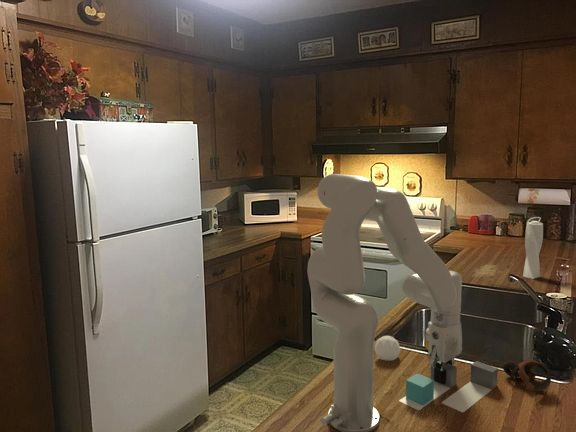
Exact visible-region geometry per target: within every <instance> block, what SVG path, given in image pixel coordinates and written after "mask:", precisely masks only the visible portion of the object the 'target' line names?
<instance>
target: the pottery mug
mask: <svg viewBox="0 0 576 432" xmlns="http://www.w3.org/2000/svg"><path fill="white" fill-rule="evenodd" d="M537 366H538V367H539V368H540V369H542V371H543V372H545V374H546V379H544V380H541V381H538V380H535V378H536V376H537V375H538V374H537V372H536V371H535V372H534V371H533V370H531V369H532V368H533V367H537ZM502 369H503V372H505V374H506V375H507V376H509V378H510V379H511V380H514V379H515V380H516V379H517V378H519V377H520V378H521V381H522V382H523V383H524V384H525V385H526V386H525V388H524V390H527V391H529V392H534V393H535V392H536V393H539V392H542V391H545V390H547V389H548V387H550V385H551V382H552V379H551V377H552V376H551V374H552V373H551V371H550V370H549V369H548V366H546V365H544V364H543V363H542V362H540V361H536V360H533V359H529V360H525V361H523V362H520V363H516V362H514V361H509V360H508V361H507V360H506V361H504V363H502ZM530 378H531V379H532V380H533V382H531V381H530Z"/></svg>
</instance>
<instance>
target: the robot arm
mask: <svg viewBox="0 0 576 432" xmlns="http://www.w3.org/2000/svg"><path fill="white" fill-rule="evenodd" d="M316 191H317V192H316V193H317V197H318V200H319V201H320V203H321V204H322V205H323V206H324V207H326V208H328V209H330V211H329V213H328V214H327V216H326V218H325V220H324V222H323V225H322V228H321V242H322V243H321V244H322V246H321V247H318V248H316V249H315V250H314V251H313V252H312V253H311V255H310V257H309V259H308V262H307V269H306V271H307V277H308V283H309V287H310V288H309V289H310V294H311V300H312V305H313V307H314V310H315V313H316V315H317V316H318V318H319V319H320V320H321V321H323V322H324V323H325V324H327V325H328V326H331V327H332V328H333V329H335V330H336V331H337V332H338V337H337V339H336V341H335V344H334V346H333V404H331V407H330V408H329V410H328V412H327V414H326V415H324V416H323V417H321V418H320V423H321V425H322V426H324V427H326V426H327V425H331V427H333V428H334V429H335V430H338V431H339V432H372V431H373V430H375V429H377V427H378V426H379V425H380V414H379V412H378V410H377V409H376V408H375V407H374V347H375V338H376V332H377V329H378V328H377V327H378V323H379V321H378V319H379V315H378V312H377V309H376V308H375V307H374V305H373V304H372V303H371V302H370V301H369V300H367V299H365V298H364V297H361V296H360V295H358V293H360V292H361V291H362V290H363V288H364V286H365V283H366V282H365V281H366V273H365V265H364V260H363V252H362V247H361V238H360V234H361V233H360V231H361V228H362V224H363V222H364V220H369V221H374V222H376V223H377V225H378V227H379V229H380V231H381V232H380V233H382V236H383V239H384V241H385V244H386V246H387V248H388V250H389V252H390V255H392V256H393V257H394V258H395V259H396V260H397V261H399V262H400V263H401V264H403V265H404V266H405V267H406V268H408V269H409V270H411V271H413V272H414V273H412V274H410V275H408V276H407V277H406V278H405V279H404V281H403V282H402V286H401V288H402V292H403V295H404V296H405V297H406V298H407V299H409V300H410V301H412V302H414V303H417V304H420V305H421V306H425V307H428V308H430V309H431V310H430V321H431V322H432V323H431V328H430V335H429V351H428V357H429V358H430V359H429V361H428V364H429V365H430V366H431V365H432V366H433V368H434V381H436V382H439V383H441V384H445V383H446V370H444V369H445V363H448V364H450V365H453V366H455V358H456V357H457V356H458V355H460V354H461V353H462V351H463V331H462V323H461V311H462V310H461V309H462V308H461V307H462V305H461V304H462V287H463V286H462V285H463V283H462V275H461V274H460V273H459V272H457V271H454V270H450V269H449V268H448V266H447V265H446V263H445V262H444V261H443V260H442V258H441V257H440V256H438V254H437V253H436V252H435V251H434V250H433V249H432V247H431V246H430V245H429V244H428V243H427V242H426V241H425V240H424V239H423V236H422V235H421V231H420V229H419V227H418V225H417V224H418V223H417V222H416V218H415V216H414V214H413V211H412V209H411V206H410V204H409V201H408V199H407V197H406V195H405V194H404V193H403V192H402V191H400V190H398V189H394V188H388V187H381V186H377V185H376V183H374V181H373V180H371V179H369V178H367V177H365V176H360V175H352V174H344V173H343V174H342V173H341V174H340V173H330V174H328V175H326V176H324V177H323V178H322V179H321V180H320V181H319V183H318V186H317V190H316ZM438 361H440V362H441V364H440V363H438Z"/></svg>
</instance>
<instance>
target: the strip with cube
mask: <svg viewBox="0 0 576 432" xmlns="http://www.w3.org/2000/svg"><path fill="white" fill-rule="evenodd" d="M438 363H440V364H441V362H440V361H438ZM457 367H458V366H455V365H450V364H448V363H445V369H444V370H446V383H445V384H441V383H439V382H436V381H434V398H433V399H431V400H430V401H429V402H427V403H426V404H424V405H423V406H422V405H420V404H418V403H416V402H414V401H412V400H410V399H407V398H406V395H405V396H404V397H402V398H400V399H399V400H398V402H400V403H402V404H404V405H406V406H408V407H411V408H413V409H414V410H417V411H420V410H422V409H423V408H424V407H426V406H427V405H429V404H430V403H432V402H433V401H434V400H436V399H437V398H439V397H440V396H442V395H443V394H444V393H446V392H447V391H448V390H451V388H453V387H455V386H456V385H457V377H458V376H457V373H458V368H457ZM430 379H432V380H434V368H433V366H432V365H430Z"/></svg>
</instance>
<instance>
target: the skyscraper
mask: <svg viewBox="0 0 576 432" xmlns="http://www.w3.org/2000/svg"><path fill="white" fill-rule="evenodd" d="M533 219H538V220H533ZM541 219H542V217H539V216H534V217H531V218H529V219H528V220H527V221H526V225H525V226H526V227H525V235H524V236H525V237H524V246H525V247H524V250H525V254H526V255H525V262H524V266H523V272H522V273H523V274H522V277H524V278H527V279H533V280H534V279H535V280H536V279H538V278H540V277H541V272H540V271H541V270H540V267H541V266H540V259H539V257H540V252H541V249H542V245H543V239H544V223H543V222H541Z"/></svg>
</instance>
